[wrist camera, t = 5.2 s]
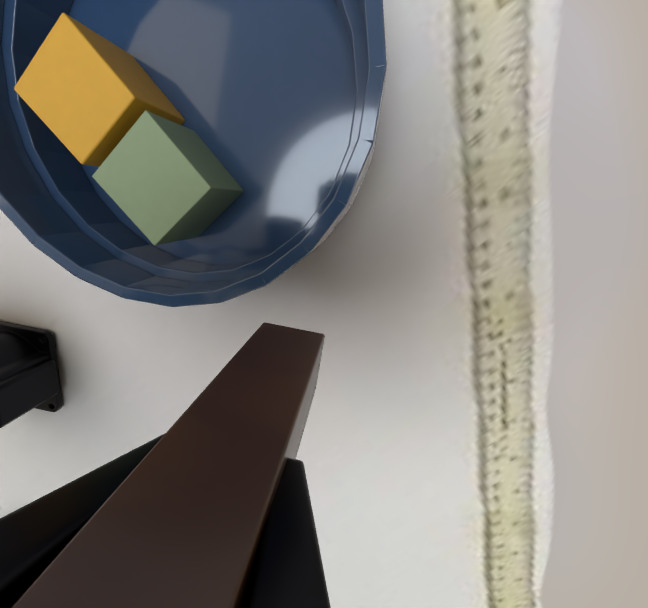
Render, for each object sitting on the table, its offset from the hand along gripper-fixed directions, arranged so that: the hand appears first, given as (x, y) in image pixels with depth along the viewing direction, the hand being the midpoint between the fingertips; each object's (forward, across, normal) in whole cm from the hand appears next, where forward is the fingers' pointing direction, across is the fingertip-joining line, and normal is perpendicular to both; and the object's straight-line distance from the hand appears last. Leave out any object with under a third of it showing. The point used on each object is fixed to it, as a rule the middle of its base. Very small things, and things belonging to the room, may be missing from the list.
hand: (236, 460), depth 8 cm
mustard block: (+12, +11, -8) cm, 19 cm away
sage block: (+12, +8, -6) cm, 16 cm away
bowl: (+13, +8, -9) cm, 18 cm away
